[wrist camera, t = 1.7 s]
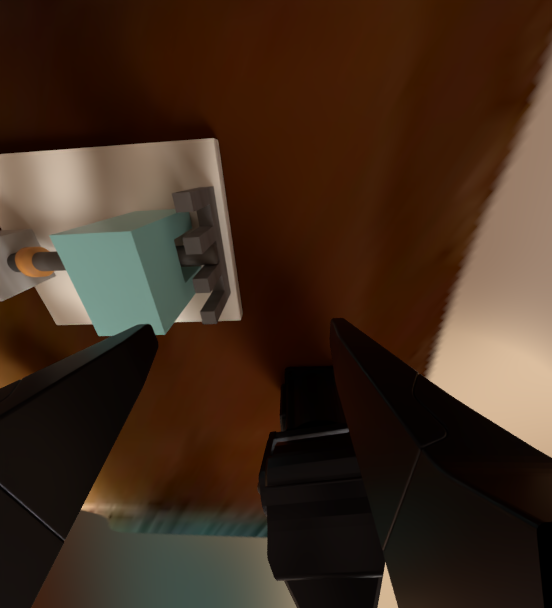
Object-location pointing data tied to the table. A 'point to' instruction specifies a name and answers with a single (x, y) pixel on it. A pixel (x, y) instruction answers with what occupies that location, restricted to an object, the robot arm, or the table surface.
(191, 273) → the teal block
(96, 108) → the table surface
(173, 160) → the cord board
